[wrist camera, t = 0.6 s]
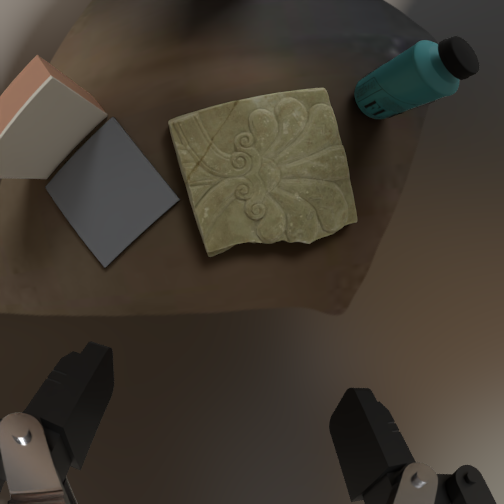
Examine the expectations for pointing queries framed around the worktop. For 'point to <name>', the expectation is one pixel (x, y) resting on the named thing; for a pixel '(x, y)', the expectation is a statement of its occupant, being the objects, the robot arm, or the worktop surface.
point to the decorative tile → (265, 170)
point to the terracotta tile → (43, 121)
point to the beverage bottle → (416, 77)
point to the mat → (110, 192)
